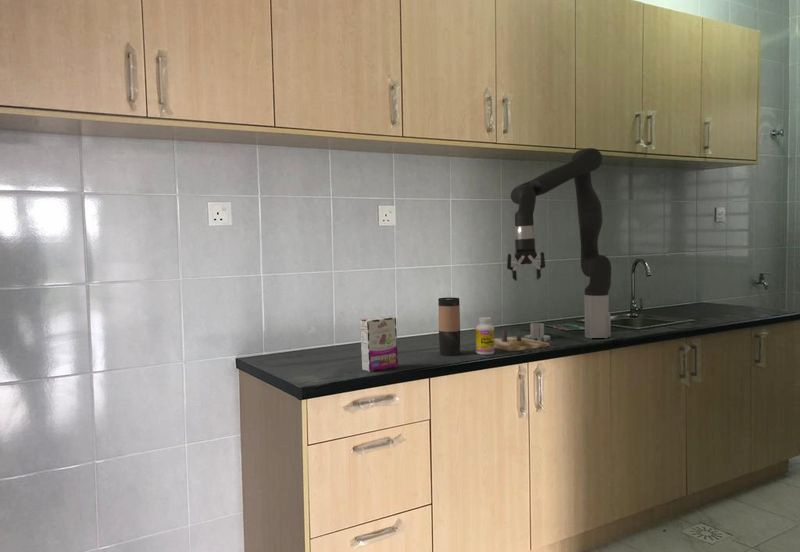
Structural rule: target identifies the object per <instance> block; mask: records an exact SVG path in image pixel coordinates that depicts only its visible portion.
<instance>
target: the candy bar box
mask: <svg viewBox="0 0 800 552" xmlns="http://www.w3.org/2000/svg"><path fill="white" fill-rule="evenodd" d="M359 324H360V327H359V328H360V345H361V347H360V348H361V368H362V371H365V372H370V373H373V372H378V370H379V371H383V370H389V369H390V370H391V369H394V368H395V369H396V368H398V367H399V365H398V363H399V361H398V360H399V358H398V357H399V355H398V341H397V339H398V338H397V334H398V333H397V317H395V316H390V315H389V316H388V315H387V316H380V317H379V316H378V317H372V318H365V319H360V320H359Z"/></svg>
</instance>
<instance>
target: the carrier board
mask: <svg viewBox="0 0 800 552" xmlns="http://www.w3.org/2000/svg"><path fill="white" fill-rule="evenodd" d="M547 346H549V347H550V342H547V341H536V340H531V339H526V338H525V337H522V335H521V334H517V335H515V336H514V335H513V336H508V332H507V330H506V329H502V330H501V337H497V338H496V337H494V349H500V350H504V351H508V352H515V351H516V352H517V351H524V350H532V349H538V348H539V349H540V347H541V348H547Z"/></svg>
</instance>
